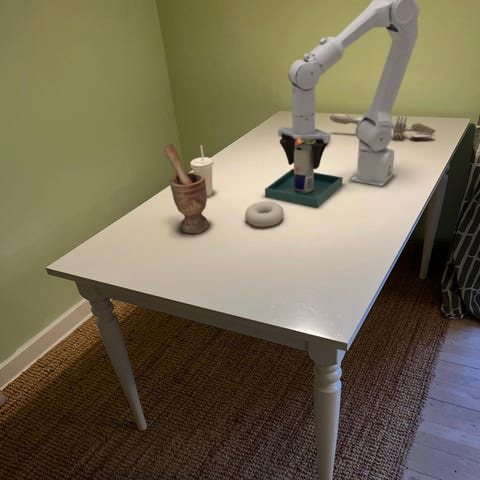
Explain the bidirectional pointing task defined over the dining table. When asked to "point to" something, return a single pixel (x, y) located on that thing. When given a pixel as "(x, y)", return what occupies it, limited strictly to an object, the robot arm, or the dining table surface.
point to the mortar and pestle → (188, 194)
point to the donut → (264, 214)
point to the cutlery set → (399, 128)
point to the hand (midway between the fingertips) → (303, 165)
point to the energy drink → (303, 169)
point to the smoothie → (204, 170)
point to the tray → (315, 198)
